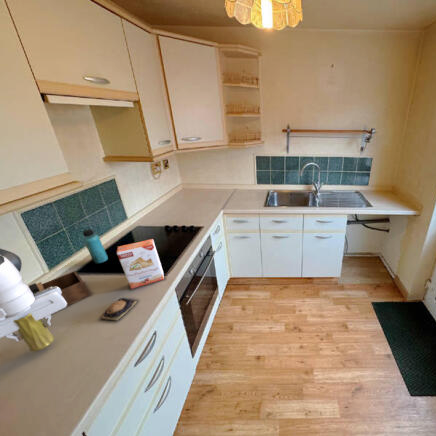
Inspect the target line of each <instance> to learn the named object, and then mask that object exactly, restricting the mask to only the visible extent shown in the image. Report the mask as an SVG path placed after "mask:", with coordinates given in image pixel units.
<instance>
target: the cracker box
mask: <svg viewBox="0 0 436 436" xmlns="http://www.w3.org/2000/svg"><path fill="white" fill-rule="evenodd" d="M116 255H117V257H118V260H119V263H120V265H121V267H122V270H123V272H124V275H125V278H126V280H127V283H128V285H129V287H130V289H131V290H133V289H136V288H139V287H143V286H146V285H149V284H152V283H156V282H159V281H163V280H165V275H164V269H163V267H162V263H161V260H160V257H159V254H158V250H157V247H156V245H155V241H154V239H153V238H150V239H146V240H142V241H138V242H133V243H128V244H123V245H120V246H117V249H116Z"/></svg>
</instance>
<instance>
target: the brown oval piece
mask: <svg viewBox="0 0 436 436" xmlns="http://www.w3.org/2000/svg"><path fill="white" fill-rule="evenodd" d="M136 303H137V301H136V300H135V299H134V300H132V299H131V298H129V299H128V298H124V297H121V298H119V299H118V300H117V301H115V302H113V303H111V304H110V305H109V307H108V308H107V309H106V310H105V311H104V313H103V314H102V316H101V319H102V320H108V321H114V322H115V321H117V322H118V320H120V319H121V318H122V317H123V316H124V315H126V314H127V313H128V312H129V311H130V309H132V308H133V306H134V305H136Z"/></svg>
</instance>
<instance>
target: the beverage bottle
mask: <svg viewBox="0 0 436 436" xmlns="http://www.w3.org/2000/svg"><path fill="white" fill-rule="evenodd" d="M82 234H83V236H84V239H83V242H84V244H85V247H86V250H87V251H88V253H89V254H90V257H91V260H92V261H93V263H94V264H102V263H104V262H106V261H108V260H109V257H108V254H107V252H106V250H105V247H104V246H103V244H102V241H101V239H100V236H99V235H98V234H95V232H94V230H93V229H87V230H84V231H83V232H82Z"/></svg>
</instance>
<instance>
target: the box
mask: <svg viewBox="0 0 436 436" xmlns="http://www.w3.org/2000/svg"><path fill="white" fill-rule="evenodd" d="M42 285H43V287H44V289H47V288H48V287H60V289H61V290H62V294H61V295H62V296H63V297H64V299H65V300H66V302H67V306H66V307H69V306H70V305H72V304H75V303H77V302H79V301H81V300H83V299H85V298H87V297H89V296H91V293H90V291H89V289H88V288H87V286H86V283H85V282H84V280H83V279H82V278H81V276H80V275H79V273H78V272H77V271H76V270H74V271H71V272H68V273H65V274H64V275H60V276H58V277H55V278H54V279H50V280H48V281H46V282H44V283H42ZM66 307H65V308H66Z"/></svg>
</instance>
